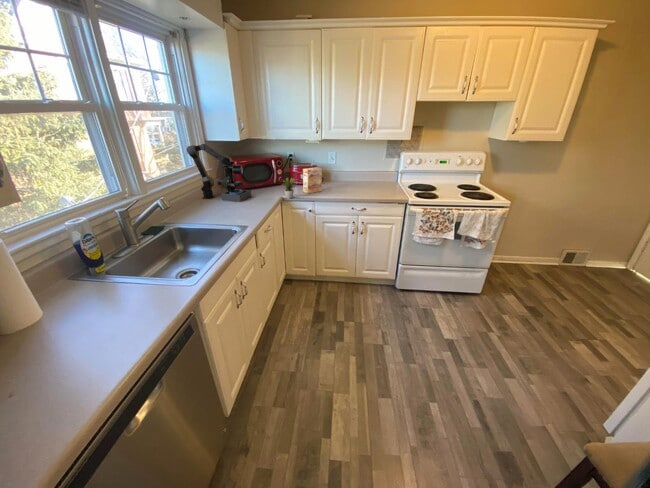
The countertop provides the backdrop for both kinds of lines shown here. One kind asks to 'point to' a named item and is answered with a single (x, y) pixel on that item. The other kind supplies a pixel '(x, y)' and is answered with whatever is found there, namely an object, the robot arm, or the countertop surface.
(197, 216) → the countertop surface
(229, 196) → the tote
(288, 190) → the house plant
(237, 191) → the rice bowl
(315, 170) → the coffeecake box
